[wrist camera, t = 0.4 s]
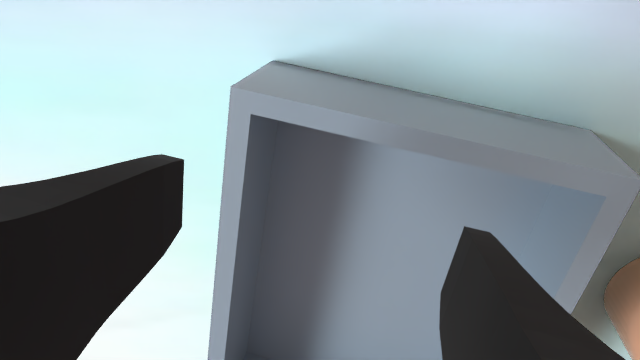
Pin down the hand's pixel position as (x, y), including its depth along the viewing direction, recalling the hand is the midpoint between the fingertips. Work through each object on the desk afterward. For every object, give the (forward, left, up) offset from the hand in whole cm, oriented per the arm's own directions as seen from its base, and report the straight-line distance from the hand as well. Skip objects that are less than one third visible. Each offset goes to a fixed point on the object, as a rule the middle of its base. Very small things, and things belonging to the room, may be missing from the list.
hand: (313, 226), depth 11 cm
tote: (-7, -3, -10) cm, 12 cm away
